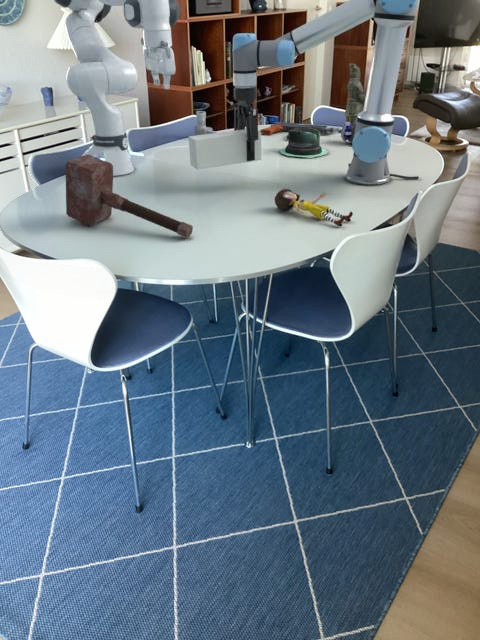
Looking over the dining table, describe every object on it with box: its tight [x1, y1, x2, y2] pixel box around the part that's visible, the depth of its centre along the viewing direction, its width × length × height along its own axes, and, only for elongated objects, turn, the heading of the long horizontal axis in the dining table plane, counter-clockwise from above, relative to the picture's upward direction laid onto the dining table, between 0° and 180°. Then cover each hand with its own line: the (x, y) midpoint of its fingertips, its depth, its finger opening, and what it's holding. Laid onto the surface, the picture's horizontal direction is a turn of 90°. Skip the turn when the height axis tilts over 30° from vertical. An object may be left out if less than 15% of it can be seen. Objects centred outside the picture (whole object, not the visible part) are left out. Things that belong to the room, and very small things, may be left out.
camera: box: [193, 110, 218, 136], centre depth 257 cm, size 9×12×15 cm
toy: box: [338, 121, 356, 143], centre depth 244 cm, size 9×9×15 cm
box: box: [188, 128, 262, 170], centre depth 187 cm, size 24×6×10 cm, turn 116°
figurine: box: [274, 188, 354, 227], centre depth 167 cm, size 13×8×25 cm
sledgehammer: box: [65, 154, 194, 239], centre depth 159 cm, size 17×10×40 cm
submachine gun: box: [259, 121, 335, 140], centre depth 264 cm, size 32×3×25 cm
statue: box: [344, 62, 366, 127], centre depth 262 cm, size 11×9×30 cm
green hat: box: [279, 128, 328, 159], centre depth 234 cm, size 15×19×20 cm
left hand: (161, 87), depth 184 cm, fingers open, 8 cm apart
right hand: (246, 158), depth 192 cm, fingers closed on box, 6 cm apart
